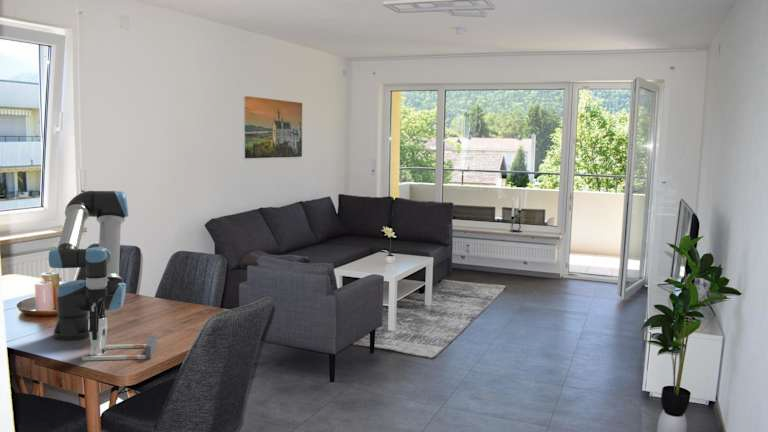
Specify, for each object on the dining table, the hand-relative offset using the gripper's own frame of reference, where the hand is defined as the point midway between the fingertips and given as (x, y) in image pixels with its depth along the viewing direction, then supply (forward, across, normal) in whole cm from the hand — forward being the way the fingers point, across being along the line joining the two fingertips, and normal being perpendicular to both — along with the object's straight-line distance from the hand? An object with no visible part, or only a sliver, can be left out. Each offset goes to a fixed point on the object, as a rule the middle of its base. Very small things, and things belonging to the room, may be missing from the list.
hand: (98, 344), depth 252 cm
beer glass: (+4, 0, 0) cm, 4 cm away
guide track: (+4, 0, -8) cm, 9 cm away
